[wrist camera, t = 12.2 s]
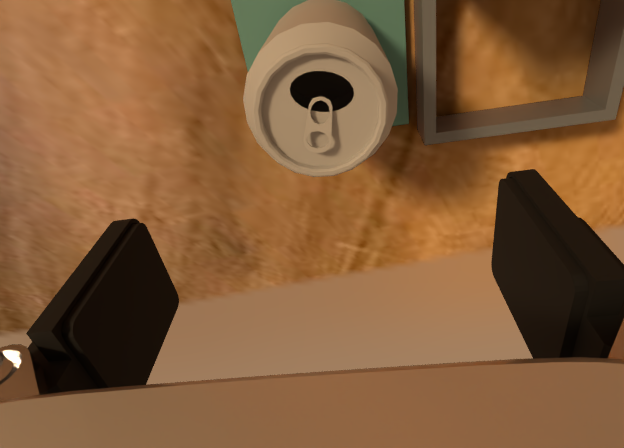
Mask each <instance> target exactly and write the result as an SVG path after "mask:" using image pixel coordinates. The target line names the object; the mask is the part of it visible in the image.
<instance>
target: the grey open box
mask: <svg viewBox="0 0 624 448" xmlns="http://www.w3.org/2000/svg"><path fill="white" fill-rule="evenodd" d="M414 27H415V63H416V100H417V130H418V132H419V134H420V136H421V139H422V141H423V143H424V145H431V144H438V143H445V142H453V141H460V140H467V139H475V138H482V137H490V136H497V135H504V134H512V133H519V132H526V131H534V130H541V129H549V128H556V127H563V126H571V125H578V124H585V123H593V122H600V121H608V120H615V119H616V116H617V111H618V107H619V103H620V99H621V95H622V91H623V87H624V0H601V4H600V9H599V14H598V19H597V24H596V30H595V35H594V40H593V45H592V51H591V56H590V61H589V66H588V72H587V77H586V82H585V87H584V93H583V96H578V97H571V98H564V99H557V100H550V101H543V102H536V103H529V104H522V105H515V106H508V107H501V108H494V109H487V110H480V111H473V112H466V113H459V114H452V115H445V116H438V117H436V0H414Z"/></svg>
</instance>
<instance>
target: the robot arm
mask: <svg viewBox="0 0 624 448" xmlns="http://www.w3.org/2000/svg"><path fill="white" fill-rule="evenodd" d="M492 272H493V275H494V278H495V280H496V282H497V284H498V286H499V288H500V290H501V293H502V295H503V297H504V299H505V301H506V303H507V305H508V307H509V309H510V311H511V313H512V315H513V317H514V320H515V321H516V324H517V326H518V328H519V330H520V332H521V334H522V336H523V338H524V340H525V342H526V344H527V347H528V349H529V351H530V353H531V354H532V357H533V359H510V360H494V361H476V362H458V363H443V364H429V365H413V366H399V367H384V368H368V369H353V370H339V371H324V372H310V373H296V374H282V375H269V376H255V377H242V378H228V379H214V380H202V381H189V382H176V383H163V384H150V385H146V383H147V380H148V378H149V375H150V373H151V371H152V368H153V366H154V364H155V361H156V359H157V356H158V354H159V351H160V349H161V347H162V344H163V342H164V339H165V337H166V335H167V332H168V330H169V327H170V325H171V322H172V320H173V318H174V315H175V313H176V310H177V308H178V304H179V298H178V294H177V292H176V289H175V287H174V285H173V283H172V281H171V279H170V276H169V274H168V272H167V270H166V268H165V266H164V263H163V261H162V259H161V257H160V255H159V253H158V251H157V248H156V246H155V244H154V242H153V240H152V238H151V235H150V233H149V231H148V229H147V227H146V225H145V224H143V223H140V222H139V221H138V220H137V219H127V220H119V221H113V222H112V223H111V224H110V225H109V227H108V228H107V229H106V231H105V232H104V233H103V234H102V236H101V237H100V238H99V240H98V241H97V242H96V244H95V245H94V246H93V247H92V249H91V250H90V251H89V253H88V254H87V255H86V257H85V258H84V259H83V260H82V262H81V263H80V264H79V266H78V267H77V268H76V269H75V271H74V272H73V273H72V275H71V276H70V277H69V279H68V280H67V281H66V282H65V284H64V285H63V286H62V288H61V289H60V290H59V292H58V293H57V294H56V295H55V297H54V298H53V299H52V301H51V302H50V303H49V305H48V306H47V307H46V308H45V310H44V311H43V312H42V314H41V315H40V316H39V318H38V319H37V320H36V321H35V323H34V324H33V325H32V327H31V328H30V329H29V331H28V332H27V333H26V334H27V335H28V336H29V337H30V339H31V340H32V343H31V344H30V346H29V347H28V348H27V347H26V346H23V345H21V344H12V345H8V346H4V347H1V348H0V448H624V264H623V263H622V262H621V261H620V260H619V259H618V258H617V257H616V255H615V254H614V253H613V252H612V251H611V250H610V249H609V248H608V247H607V245H606V244H605V243H604V242H603V241H602V240H601V239H600V238H599V236H598V235H597V234H596V233H595V232H594V231H593V230H592V229H591V228H590V226H589V225H588V224H587V223H586V222H585V221H584V220H583V219H581V218H578V217H577V216H576V215H575V214H574V213H573V212H572V211H571V209H570V208H569V207H568V206H567V205H566V204H565V203H564V201H563V200H562V199H561V198H560V197H559V196H558V195H557V194H556V192H555V191H554V190H553V189H552V188H551V187H550V186H549V184H548V183H547V182H546V181H545V180H544V179H543V178H542V177H541V175H540V174H539V173H538V172H537V171H536V170H535V169H531V170H523V171H515V172H509V173H508V175H507V177H506V179H501V180H500V182H499V188H498V199H497V209H496V220H495V231H494V242H493V253H492Z"/></svg>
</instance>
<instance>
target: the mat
mask: <svg viewBox="0 0 624 448" xmlns="http://www.w3.org/2000/svg"><path fill="white" fill-rule="evenodd" d="M305 1H307V0H231V3H232V7H233V11H234V16H235V20H236V24H237V28H238V32H239V36H240V41H241V45H242V49H243V53H244V57H245V61H246V65H247V70H248V72H249V70H250V68H251V66H252V64H253V62H254V60H255V58H256V56H257V55H258V53H259V51H260V49H261V48H262V46H263V45H264V43H265V42H266V40H267V38H268V37H269V35H270V34H271V32H272V31H273V29H274V27H275V26H276V24H277V23H278V21H279V20H280V19H281V18H282V17H283V16H284V15H285V14H286V13H287V12H288V11H289V10H290V9H291V8H292V7H294V6H296V5H299V4H301V3H303V2H305ZM338 1H341V2H345V3H347V4H349V5H350V6H352V7H353V8H354V9H356V10H357V11H359V12H360V13H361V14H362V15H363V16H364V17H365V19H366V20H367V22H368V23H369V25H370V26H371V27H372V29H373V31H374V33H375V35H376V37H377V39H378V41H379V43H380V45H381V47H382V49H383V51H384V53H385V55H386V57H387V59H388V61H389V63H390V65H391V68H392V72H393V75H394V78H395V82H396V85H397V88H398V93H397V114H396V117H395V119H394V122H393V125H392V126H397V125H404V124H409V113H408V87H407V61H406V36H405V10H404V0H338Z"/></svg>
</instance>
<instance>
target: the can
mask: <svg viewBox="0 0 624 448" xmlns="http://www.w3.org/2000/svg"><path fill="white" fill-rule="evenodd" d="M397 93H398V88H397V85H396V82H395V78H394V75H393V72H392V68H391V65H390V63H389V61H388V59H387V57H386V55H385V53H384V51H383V49H382V47H381V45H380V43H379V41H378V39H377V37H376V35H375V33H374V31H373V29H372V27H371V26H370V25H369V23H368V22H367V20H366V19H365V17H364V16H363V15H362V14H361V13H360V12H359V11H357V10H356V9H354V8H353V7H352V6H350V5H349V4H347V3H345V2H341V1H338V0H307V1H305V2H303V3H301V4H299V5H296V6H294V7H292V8H291V9H290V10H289V11H288V12H287V13H286V14H285V15H284V16H283V17H282V18H281V19H280V20H279V21H278V23H277V24H276V26H275V27H274V29H273V31H272V32H271V34H270V35H269V37H268V38H267V40H266V42H265V43H264V45H263V46H262V48H261V49H260V51H259V53H258V55H257V56H256V58H255V60H254V62H253V64H252V66H251V68H250V70H249V72H248V74H247V78H246V84H245V91H244V97H243V100H244V106H245V112H246V119H247V123H248V125H249V127H250V129H251V131H252V133H253V135H254V137H255V139H256V141H257V143H258V144H259V145H260V146H261V147H262V148H263V149H264V150H265V151H266V152H267V153H268V154H269V155H270V156H271V157H272V158H273V159H274V160H276V162H277V163H279V164H281V165H283V166H284V167H286V168H288V169H290V170H291V171H293V172H295V173H300V174H304V175H308V176H312V177H321V176H335V175H337V174H340V173H343V172H346V171H349V170H352V169H353V168H355V167H356V166H358V165H359V164H361V163H362V162H363V161H365V160H366V159H368V158H369V157H370V156H372V155H373V154H375V152H376V151H377V150H378V148H379V147H380V146H381V145H382V143H383V142H384V141H385V139H386V138H387V137H388V135H389V133H390V130H391V127H392V125H393V122H394V119H395V117H396V114H397Z"/></svg>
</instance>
